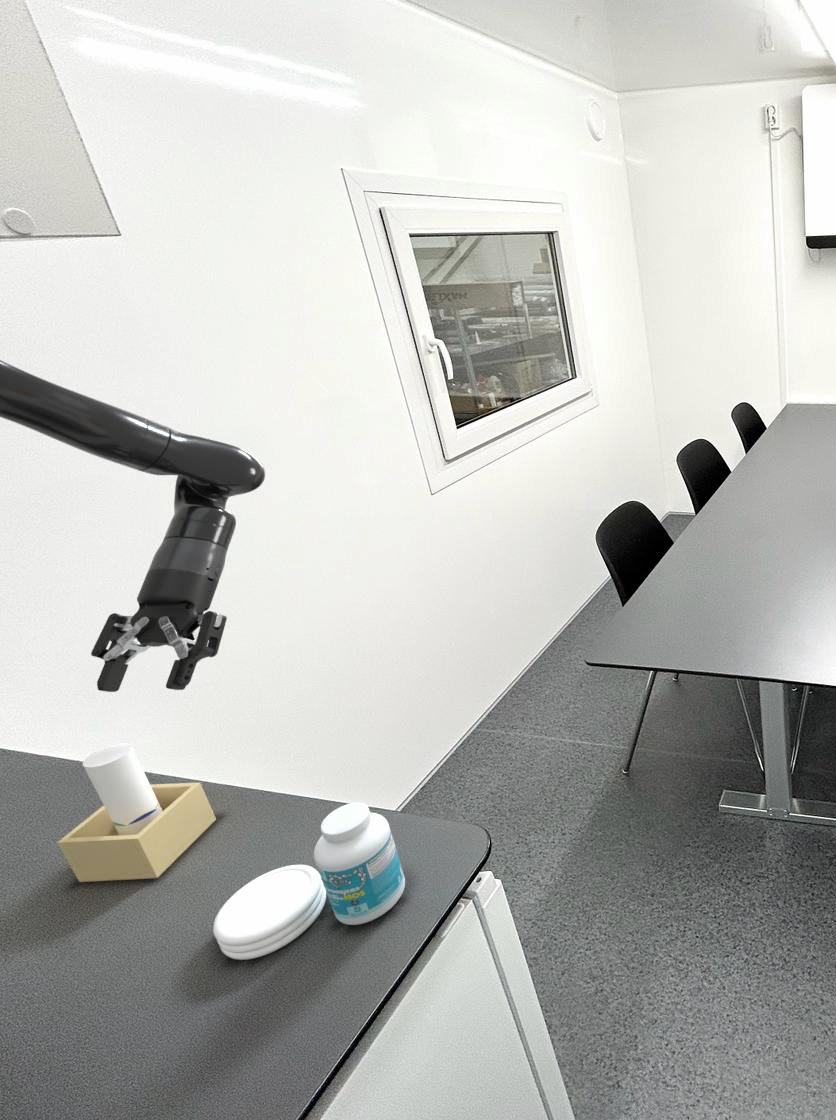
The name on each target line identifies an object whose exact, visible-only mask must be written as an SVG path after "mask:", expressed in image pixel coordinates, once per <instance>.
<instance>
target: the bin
mask: <svg viewBox="0 0 836 1120" xmlns="http://www.w3.org/2000/svg"><path fill="white" fill-rule="evenodd" d="M150 786H151V788H152V790H153V792H154V794H155V796H156V798H157V800H158V802H159V804H160V807H161V809H162V811H163V812H162V813H161V814H159V815H158V816H157V817H156V818H155V819H154V820H153V821H152V822H151V823H149V824H148V825H147V826H146V827H145V828H144V829H143V830H142V831H140V832H139V833H138V834H137V835H119V833H118V832H117V830H116V828H115V826H114V824H113V821H112V820H111V818H110V816H109V814H108V812H107V810H106V808H105V807H104V805H103V804H102V806H100V807H99V808H98V809H97V810H95V812H93V813H92V814H91V815H89V816H88V817H87V818H86V819H85V820H83V821H82V822H81V823H79V824H78V825H77V826H76V827H74V828H73V829H72V830H71V831H70V832H68V833H67V834H66V835H65V836H63V837H62V838H60V839H59V840H58V841H57V842H56V844H57V845H58V847H59V849H60V851H61V852H62V854H63V855H64V857H65V859H66V861H67V862H68V864H69V866H70V868H71V870H72V871H73V873H74V875H75V877H76V879H77V880H78V882H79V883H85V882H86V883H87V882H88V883H89V882H107V881H109V882H110V881H125V880H145V879H147V880H149V879H158V878H159V877H160V876H161V875H162V874H163V873H164V872H165V871H166V870H167V869H168V868H169V867H170V866H171V865H172V864H173V863H174V862H175V861H176V860H177V859H178V858H179V857H180V856H181V855H182V854H183V853H184V852H185V851H186V850H187V849H188V848H189V847H190V846H191V845H192V844H193V843H194V842H195V841H196V840H198V839H199V838H200V836H201V835H202V834H203V833H204V832H205V831H206V830H208V828H209V827H210V826H212V825H213V823H214V822H215V821H216V820H217V818H216V815H215V813H214V811H213V809H212V807H211V804H210V802H209V799H208V798H207V795H206V793H205V790H204V788H203V786H202V783H201V782H179V783H155V784H150Z"/></svg>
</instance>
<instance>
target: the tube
mask: <svg viewBox="0 0 836 1120" xmlns="http://www.w3.org/2000/svg"><path fill="white" fill-rule="evenodd" d="M82 766H83V768H84V770H85V771H86V774H87V776H88V778H89V780H90V782H91V783H92V786H93V787H94V789H95V791H96V793H97V795H98V797H99V799H100V801H101V803H102V806H103V805H104V807H105V808H106V810H107V812H108V814H109V816H110V818H111V820H112V821H113V824H114V826H115V828H116V830H117V832H118V833H119V835H137V834H138V833H139V832H140V831H142V830H143V829H144V828H145V827H146V826H147V825H148V824H149V823H151V822H152V821H153V820H154V819H155V818H156V817H157V816H158V815H159V814H161V813H162V812H163V811H162V809H161V807H160V804H159V802H158V800H157V798H156V796H155V794H154V792H153V790H152V788H151V786H150V785H151V784H150V781H149V780H148V777H147V776H146V773H145V771H144V769H143V767H142V764H141V762H140V761H139V758H138V757H137V754H136V753H135V750H134V747H133V746H132V745H131V743H127V742H121V743H115V744H111V745H108V746H105V747H103V748H100V749H98V750H96V751H94V752H93V753H91V754H90V755H88V756H87V757H86V758H85V759H84V760H83V762H82Z"/></svg>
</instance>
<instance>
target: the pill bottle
mask: <svg viewBox="0 0 836 1120" xmlns="http://www.w3.org/2000/svg"><path fill="white" fill-rule="evenodd" d="M320 831H321V836H320V838H319V839H318V840H317V842H316V844H315V847H314V850H313V859H314V862H315V865H316V868H317V871H318V873H319V874H320V876H321V880H322V881H323V884H324V887H325V889H326V896H327V897H328V901H329V904H330V906H331V909H332V911H333V915H334V917H335V918H336V919H337V921H339V922H340V923H341V924H343V925H348V926H357V925H363V924H367V923H369V922H372V921H374V920H376V919H378V918H379V917H381V916H383V915H384V914H386V913H387V912H388V911H389V910H391V909H392V908H393V907H394V906H395V905H396V904H397V902H399V900H400V898H401V897H402V895H403V893H404V891H405V886H406V877H405V874H404V871H403V867H402V864H401V861H400V857H399V853H398V850H397V847H396V844H395V840H394V838H393V833H392V830H391V827H390V824H389V822H388V820H387V819H386V818H385V817H384V816H383V815H381V814H379V813H376V812H371V811H370V808H369V806H368V805H367V804H366V803H364V802H350V803H347V804H344V805H342V806H339V807H338V808H336V809H334V810H333V811H331V812H330V813H329V814H327V815H326V817H325V818H324V819H323V820H322V822H321V824H320Z"/></svg>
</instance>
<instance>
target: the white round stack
mask: <svg viewBox="0 0 836 1120" xmlns="http://www.w3.org/2000/svg"><path fill="white" fill-rule="evenodd" d="M326 901H327V892H326V889H325V887H324V884H323V881H322V879H321V876H320V873H319V870H318V869H316V868H315V867H313V866H311V865H308V864H307V865H306V864H291V865H286V866H282V867H279V868H275V869H272V870H270V871H268V872H266V873H264V874H261V875H259V876H257V877H256V878H254V879H253V880H251V881H249V882H248V883H246V884H245V885H244V886H242V887H241V888H239V889H238V890H237V891H235V892H234V894H233V895H232V896H230V898H228V900H226V902H225V903H224V904H223V905H222V907H221V908H220V909H219V911H218V912H217V914H216V916H215V918H214V922H213V925H212V927H213V928H212V933H213V936H214V938H215V939H216V942H217V944H218V945H219V949H220V950H221V952H222V953H223V955H225V956H227V957H229V958H231V959H233V960H238V961H243V960H244V961H245V960H253V959H257V958H260V957H264V956H266V955H269V954H271V953H274V952H275V951H277V950H279V949H282V948H283V947H285V946H286V945H288V944H289V943H291V942H292V941H294V940H295V939H297V938H298V937H300V935H302V934H303V933H304V932H305V931H306V930H307V929H308V928H309V927H311V926H312V924H313V923H314V922H315V921H316V920H317V919H318V918H319V916H320V914H321V912H322V911H323V909H324V907H325V904H326Z"/></svg>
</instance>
